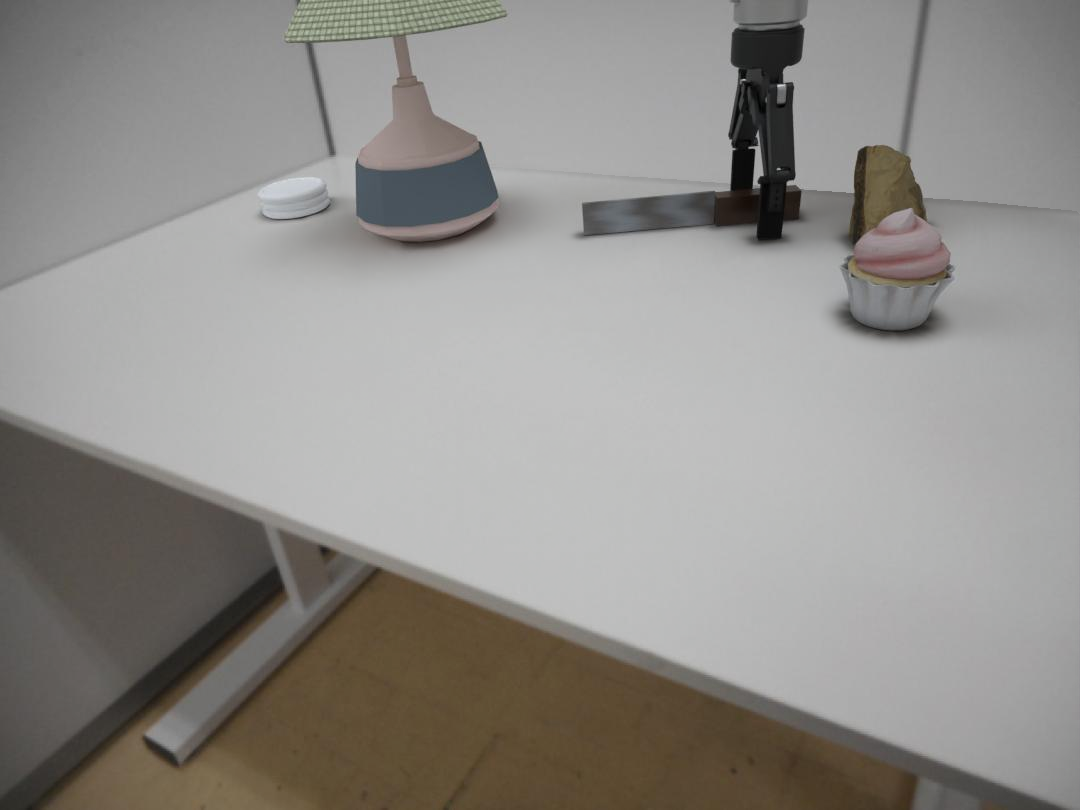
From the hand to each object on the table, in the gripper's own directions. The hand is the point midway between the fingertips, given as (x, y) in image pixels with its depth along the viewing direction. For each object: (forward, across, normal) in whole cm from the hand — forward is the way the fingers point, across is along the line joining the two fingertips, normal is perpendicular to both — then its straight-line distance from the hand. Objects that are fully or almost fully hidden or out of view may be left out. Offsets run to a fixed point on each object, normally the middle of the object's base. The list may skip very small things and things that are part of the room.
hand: (753, 218), depth 91 cm
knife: (0, 0, -8) cm, 8 cm away
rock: (0, +9, +13) cm, 16 cm away
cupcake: (0, +28, +5) cm, 28 cm away
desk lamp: (+1, -9, -41) cm, 42 cm away
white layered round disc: (+1, -22, -63) cm, 67 cm away
